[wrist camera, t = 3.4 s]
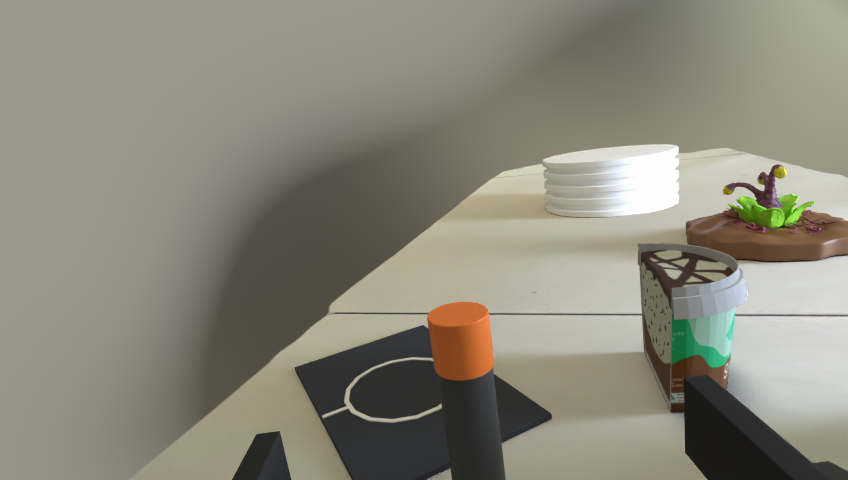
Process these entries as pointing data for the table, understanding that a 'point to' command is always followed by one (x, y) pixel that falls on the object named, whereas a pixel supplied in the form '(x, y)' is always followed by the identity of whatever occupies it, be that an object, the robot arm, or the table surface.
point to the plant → (770, 227)
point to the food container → (688, 313)
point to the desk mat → (396, 407)
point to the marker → (467, 389)
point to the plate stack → (612, 181)
